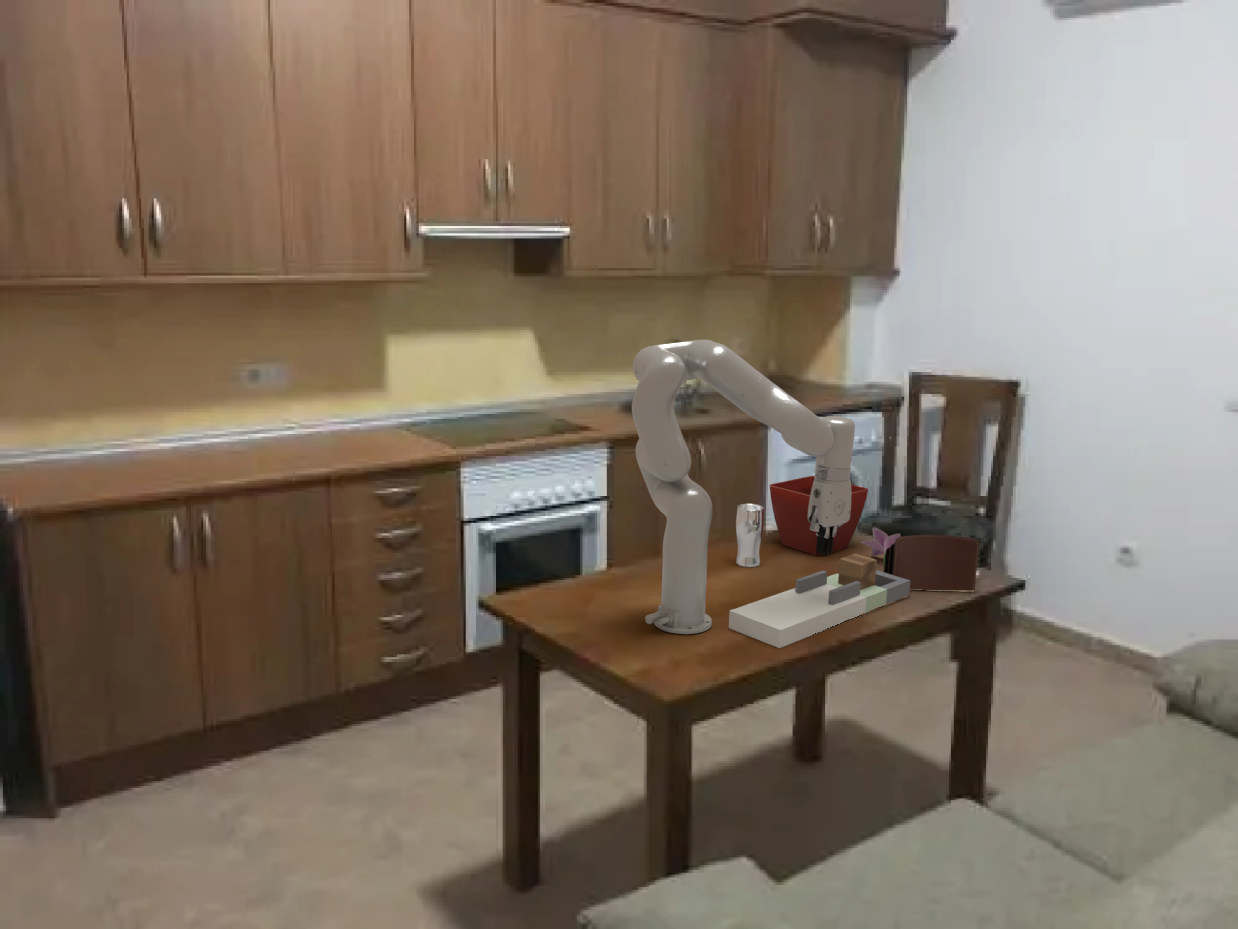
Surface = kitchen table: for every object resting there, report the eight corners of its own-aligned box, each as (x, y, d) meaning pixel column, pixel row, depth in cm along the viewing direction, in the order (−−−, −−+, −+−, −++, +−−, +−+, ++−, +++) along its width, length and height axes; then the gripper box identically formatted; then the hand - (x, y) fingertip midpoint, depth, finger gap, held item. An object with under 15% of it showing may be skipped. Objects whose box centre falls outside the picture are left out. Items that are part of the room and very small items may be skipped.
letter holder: (974, 593, 251) (980, 537, 247) (891, 591, 251) (895, 534, 248) (963, 579, 260) (968, 525, 257) (882, 577, 261) (887, 522, 258)
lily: (918, 571, 269) (918, 534, 271) (894, 562, 261) (895, 524, 263) (876, 574, 277) (876, 538, 280) (852, 566, 269) (853, 529, 272)
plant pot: (810, 532, 297) (813, 474, 293) (865, 549, 282) (870, 488, 278) (764, 544, 285) (767, 484, 281) (819, 562, 270) (824, 499, 266)
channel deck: (779, 648, 216) (781, 616, 215) (728, 628, 226) (730, 597, 225) (909, 596, 247) (911, 568, 246) (859, 580, 257) (861, 553, 256)
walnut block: (859, 590, 239) (861, 565, 238) (838, 583, 243) (839, 558, 242) (875, 584, 243) (877, 560, 242) (853, 577, 247) (855, 553, 246)
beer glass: (741, 557, 273) (743, 501, 270) (765, 562, 270) (768, 506, 266) (729, 564, 267) (732, 508, 264) (754, 569, 264) (757, 512, 260)
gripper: (825, 481, 222) (816, 563, 226) (866, 473, 232) (857, 552, 236) (797, 473, 227) (789, 554, 231) (838, 466, 237) (830, 544, 241)
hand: (823, 553), depth 233 cm, fingers closed
